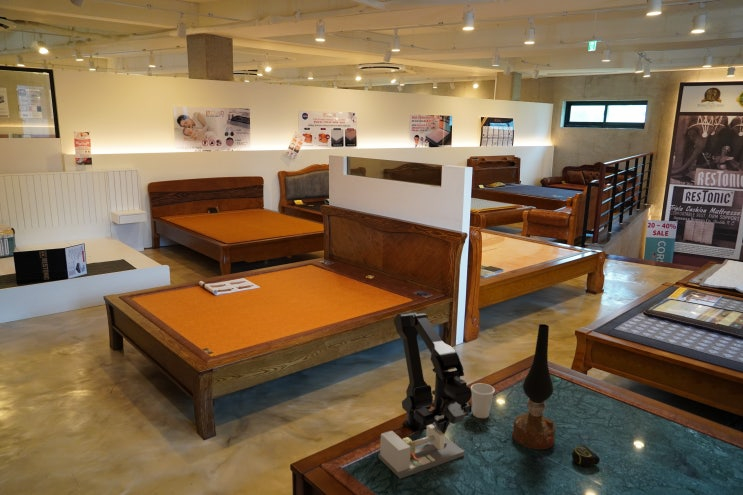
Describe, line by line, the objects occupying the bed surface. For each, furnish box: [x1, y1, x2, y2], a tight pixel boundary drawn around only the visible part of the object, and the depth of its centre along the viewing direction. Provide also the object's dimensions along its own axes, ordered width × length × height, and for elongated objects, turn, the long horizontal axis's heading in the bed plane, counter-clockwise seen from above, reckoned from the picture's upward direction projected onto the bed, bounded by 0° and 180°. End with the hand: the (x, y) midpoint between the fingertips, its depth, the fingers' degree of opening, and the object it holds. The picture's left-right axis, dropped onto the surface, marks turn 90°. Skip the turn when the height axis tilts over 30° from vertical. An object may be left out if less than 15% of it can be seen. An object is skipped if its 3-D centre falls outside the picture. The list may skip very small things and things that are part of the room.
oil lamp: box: [511, 323, 556, 450], centre depth 179 cm, size 14×15×40 cm
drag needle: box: [401, 436, 419, 462], centre depth 165 cm, size 7×2×4 cm, turn 31°
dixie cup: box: [470, 382, 496, 419], centre depth 195 cm, size 8×8×10 cm
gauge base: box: [377, 430, 465, 479], centre depth 169 cm, size 12×24×8 cm, turn 121°
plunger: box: [412, 424, 446, 450], centre depth 169 cm, size 7×9×5 cm
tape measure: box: [571, 445, 601, 468], centre depth 169 cm, size 7×7×4 cm
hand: (441, 435), depth 173 cm, fingers closed
